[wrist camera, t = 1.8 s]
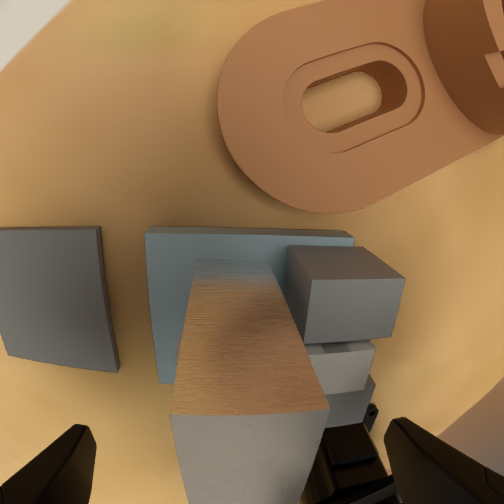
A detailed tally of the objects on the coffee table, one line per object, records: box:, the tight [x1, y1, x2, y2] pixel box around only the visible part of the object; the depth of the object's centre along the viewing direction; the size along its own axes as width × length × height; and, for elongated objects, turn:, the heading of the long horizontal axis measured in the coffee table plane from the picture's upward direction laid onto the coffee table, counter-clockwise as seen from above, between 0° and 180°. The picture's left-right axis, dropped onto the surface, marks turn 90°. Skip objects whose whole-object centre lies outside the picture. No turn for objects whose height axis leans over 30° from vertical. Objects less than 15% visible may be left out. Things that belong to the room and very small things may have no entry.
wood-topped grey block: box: [170, 259, 330, 504], centre depth 10 cm, size 6×3×9 cm, turn 177°
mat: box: [0, 226, 120, 373], centre depth 14 cm, size 8×8×1 cm
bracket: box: [217, 0, 504, 214], centre depth 10 cm, size 18×8×7 cm, turn 116°
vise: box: [145, 227, 405, 428], centre depth 13 cm, size 8×10×5 cm
